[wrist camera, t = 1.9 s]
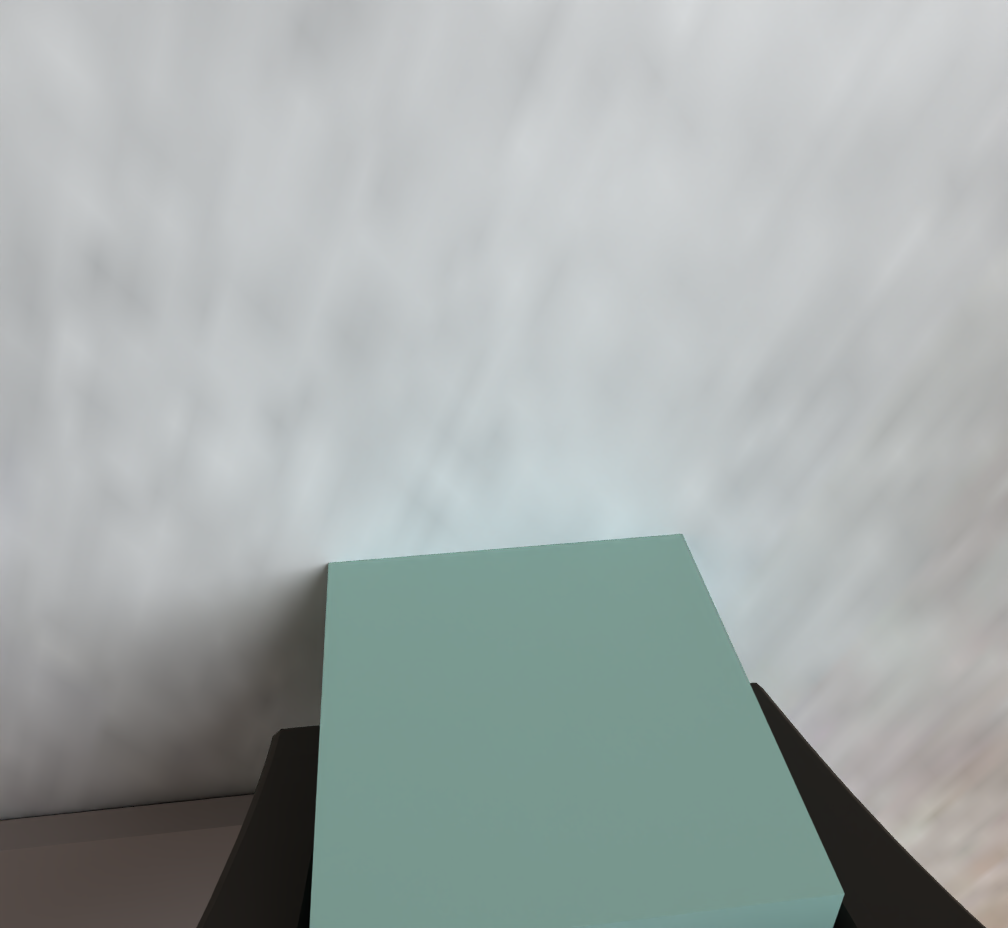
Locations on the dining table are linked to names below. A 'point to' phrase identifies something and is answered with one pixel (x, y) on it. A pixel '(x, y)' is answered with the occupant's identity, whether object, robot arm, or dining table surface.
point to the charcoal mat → (117, 865)
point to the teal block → (550, 750)
